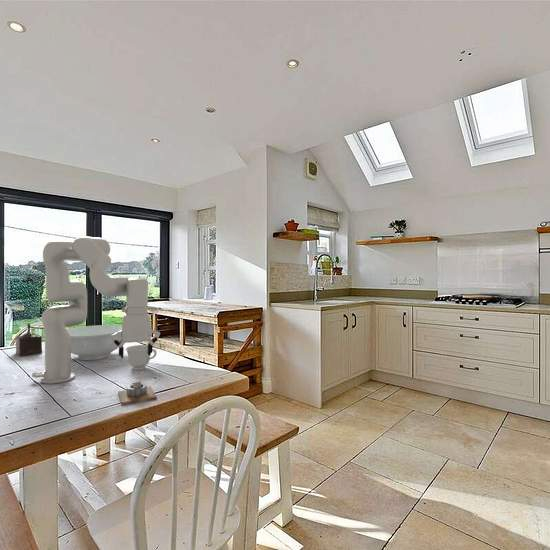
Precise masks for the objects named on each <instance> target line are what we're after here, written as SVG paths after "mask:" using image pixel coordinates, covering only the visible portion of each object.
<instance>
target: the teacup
mask: <svg viewBox="0 0 550 550" xmlns="http://www.w3.org/2000/svg"><path fill="white" fill-rule="evenodd" d="M125 351H126V353H127V360H128V364H129V366H130V367H132V370H134V371H141V370H145V369H146V368H147V367H146V366H147V365H148V364H149V363H150V361H151V360H152V359H155V357H156V356H157V350H156V349H155V348H154V347H152V353H154V354H153V355H152V356H149V355H148V353H147V352H148V344H136V345H135V344H134V345H132V346H127V347H126V348H125Z"/></svg>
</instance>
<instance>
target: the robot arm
mask: <svg viewBox="0 0 550 550" xmlns="http://www.w3.org/2000/svg"><path fill="white" fill-rule="evenodd" d="M110 253H111V246H110V243H109V242H108V241H107V240H106V239H104V238H102V237H95V236H94V237H92V236H79V237H77V238H75V239H74V240H64V239H63V240H62V239H60V240H56V239H55V240H51V241H49V242H48V243H46V244H45V245H44V248H43V250H42V261H43V263H44V268H45V297H46V299H47V301H48V302H50V303H53V304H61V303H62V304H63V303H70V304H66V305H65V304H63V305H54V306H50V307H47V308H45V310H43V312H42V313H41V322H42V326H43V327H42V328H44V329H43V331H44V333H43V334H44V370H41V371H36V372H35V371H34V372H32V378H35V379H37V378H40V383H42V384H45V385H46V384H49V385H50V384H51V385H53V384H61V383H66V382H69V381H72V380H73V379H75V377H76V374H75V373H74V372H72V353H71V337H70V334H69V333H68V331H67V329H66V328H69V327H73V326H74V327H75V326H79V325H83V324H85V322H86V321H87V317H88V289H87V287H86V285H85V283H84V282H83V281H81V280H78V279H73V280H72V279H71V280H70V270H69V267H68V266H67V264H66V263H65V262H64V261H67V262H68V261H69V262H74V261H75V262H83V263H84V264H85V266H87V268H88V269H89V280H90V283H91V285H92V286H93V288H95V290H96V291H97V292H98V293H100V294H101V295H102V296H104V297H106V298H117V297H126V298H125V307H123V308H122V307H121V313H125V314H123V318H122V325H121V326H122V330H120V331H119V332H117V333H115V334H113V335H111V338H112V340H113V342H114V343H115V344H116V345H117V346H118V356H120V358H121V359H123V358H124V353H125V352H124V348H125V347H124V345H125V344H126V343H127V344H128V343H140V342H141V343H143V342H148V343H147V345H148V352H147V353H148V355H149V356H150V357H152V353H153V351H152V349H153V348H154V347H153V345H154V344H155V343H156V342H157V341H158V339H159V337H160V335H161V332H159V331H157V330H155V329H152V322H151V315H150V314H149V313H148V305H149V304H148V302H149V301H148V300H149V281H148V279H146V278H141V277H133V276H129V275H128V276H109V275H108V274H107V273H106V272H105V271H107V270H108V269H109V268H110V266H111V264H112V258H111V257H110V256H109V255H110ZM152 334H154V336H153V338H152ZM119 335H121V337H122V340H121V341H120V342H119V341H118V340H117V339H116V337H117V336H119ZM152 347H153V348H152Z"/></svg>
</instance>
